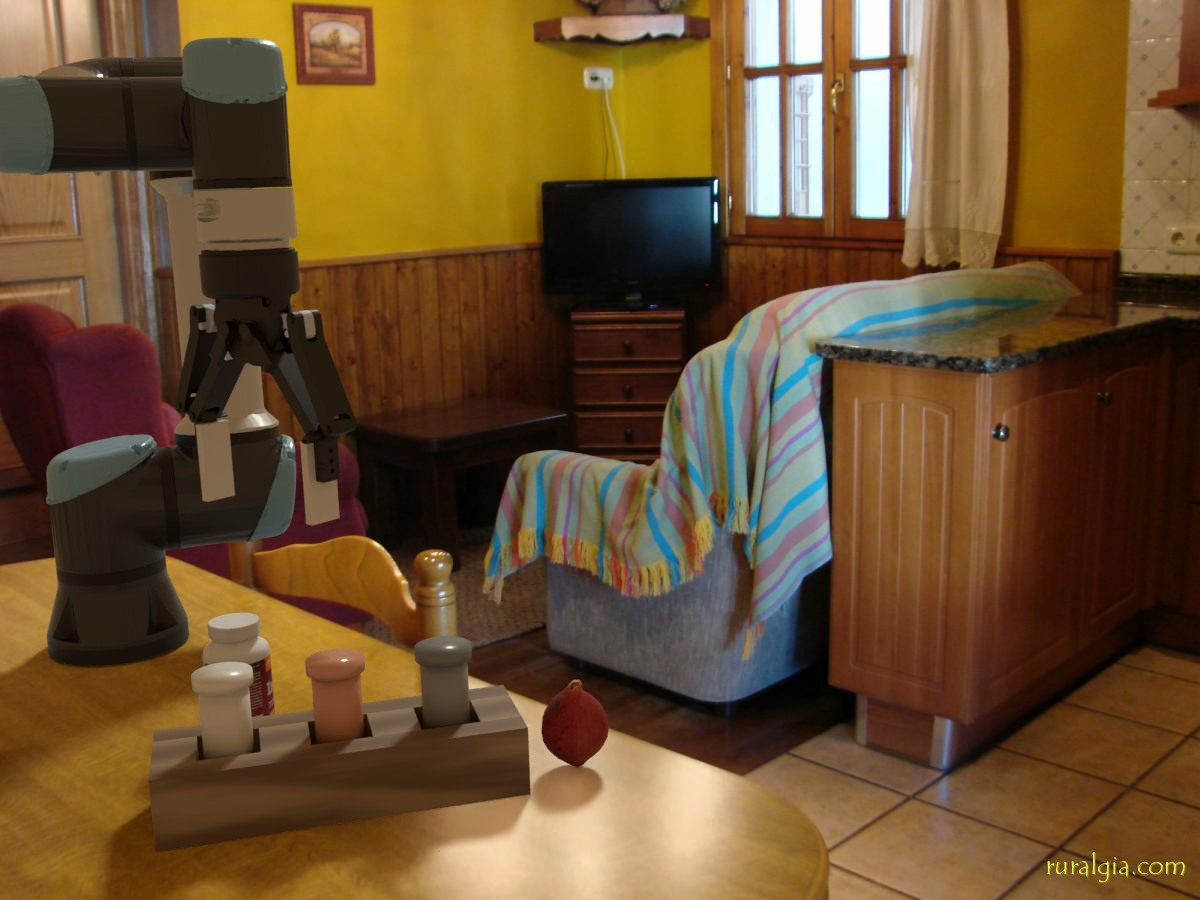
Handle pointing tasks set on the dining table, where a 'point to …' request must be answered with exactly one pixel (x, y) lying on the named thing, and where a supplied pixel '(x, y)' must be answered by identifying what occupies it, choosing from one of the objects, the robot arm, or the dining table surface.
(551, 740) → the onion
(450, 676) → the plug blue-grey
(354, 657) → the plug terracotta
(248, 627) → the pill bottle
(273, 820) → the socket block
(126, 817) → the dining table surface
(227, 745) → the plug white
